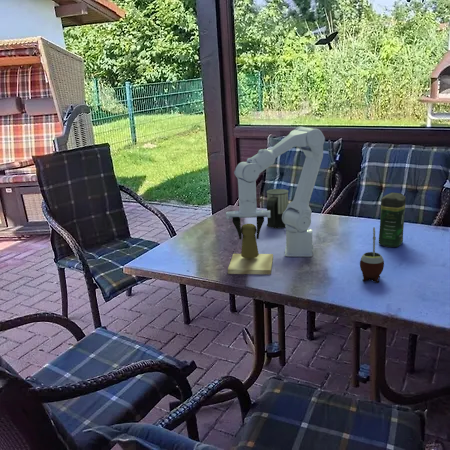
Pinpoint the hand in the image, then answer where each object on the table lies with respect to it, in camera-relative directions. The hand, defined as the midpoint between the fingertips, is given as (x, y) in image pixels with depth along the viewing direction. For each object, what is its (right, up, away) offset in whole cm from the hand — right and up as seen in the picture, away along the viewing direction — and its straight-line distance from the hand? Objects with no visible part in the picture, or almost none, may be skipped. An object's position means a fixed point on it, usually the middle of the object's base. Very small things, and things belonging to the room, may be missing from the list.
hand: (249, 238), depth 164 cm
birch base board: (+1, -9, +2) cm, 10 cm away
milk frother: (+17, +3, +39) cm, 42 cm away
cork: (0, -6, +4) cm, 7 cm away
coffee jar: (+53, -3, +15) cm, 55 cm away
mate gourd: (+37, -12, -12) cm, 41 cm away
